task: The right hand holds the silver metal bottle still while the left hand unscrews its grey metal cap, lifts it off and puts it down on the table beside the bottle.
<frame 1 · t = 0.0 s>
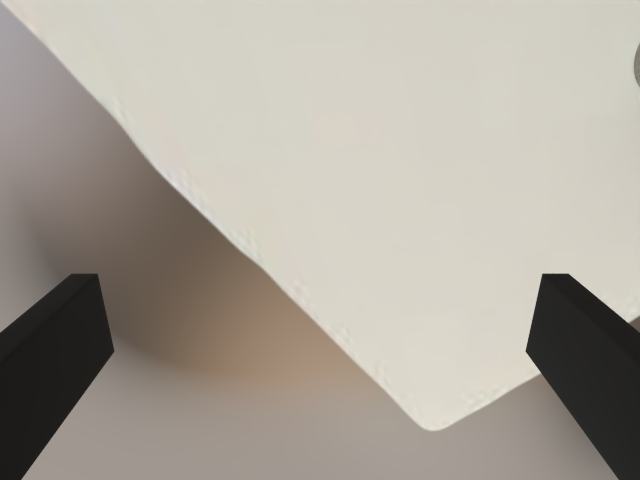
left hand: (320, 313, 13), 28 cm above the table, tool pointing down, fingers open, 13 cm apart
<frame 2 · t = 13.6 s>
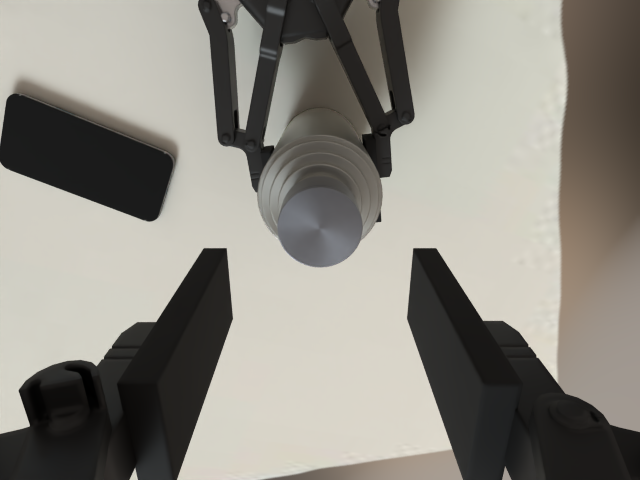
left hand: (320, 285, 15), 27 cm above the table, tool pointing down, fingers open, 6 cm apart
right hand: (327, 221, 35), fingers closed on bottle, 7 cm apart
smartphone: (90, 159, 40), on the table
bottle: (319, 147, 40), on the table, touching right hand
cap: (319, 226, 20), point 21 cm above the table, screwed on, not yet turned
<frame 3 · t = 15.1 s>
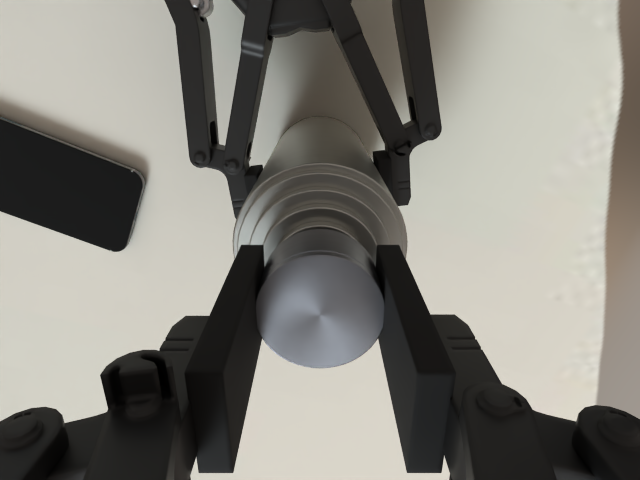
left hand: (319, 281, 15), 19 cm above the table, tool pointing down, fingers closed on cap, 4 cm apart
right hand: (328, 258, 28), fingers closed on bottle, 7 cm apart
smartphone: (43, 178, 33), on the table
bottle: (320, 164, 33), on the table, touching right hand
cap: (320, 309, 13), point 21 cm above the table, screwed on, not yet turned, touching left hand
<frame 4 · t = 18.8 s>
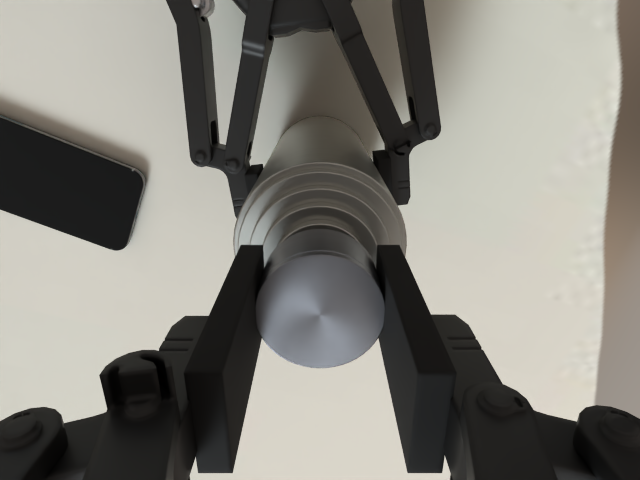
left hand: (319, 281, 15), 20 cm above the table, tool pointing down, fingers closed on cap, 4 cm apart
right hand: (328, 257, 28), fingers closed on bottle, 7 cm apart
smartphone: (44, 177, 33), on the table
bottle: (320, 163, 33), on the table, touching right hand
cap: (320, 309, 13), point 22 cm above the table, turned 132° so far, risen 0.1 cm, still on its thread, touching left hand
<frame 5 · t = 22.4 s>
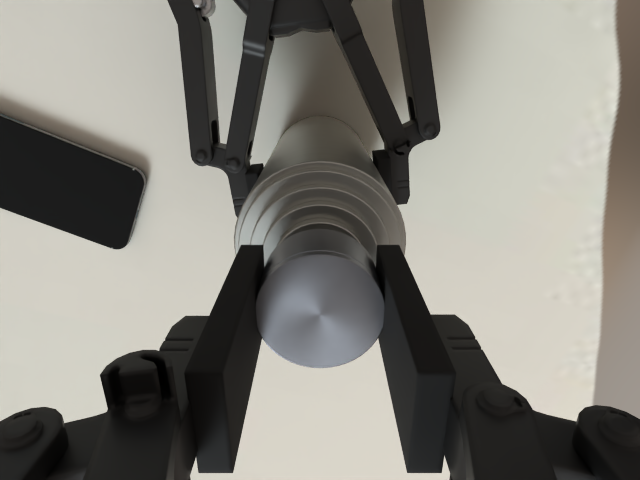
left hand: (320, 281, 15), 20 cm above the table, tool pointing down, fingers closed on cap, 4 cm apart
right hand: (328, 256, 29), fingers closed on bottle, 7 cm apart
smartphone: (45, 176, 34), on the table
bottle: (320, 163, 33), on the table, touching right hand
cap: (320, 309, 13), point 22 cm above the table, turned 264° so far, risen 0.3 cm, still on its thread, touching left hand
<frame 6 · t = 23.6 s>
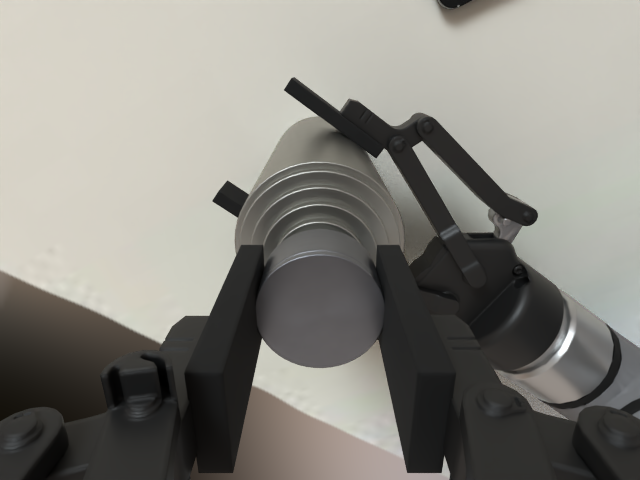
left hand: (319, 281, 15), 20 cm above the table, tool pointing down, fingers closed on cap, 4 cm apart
right hand: (253, 139, 26), fingers closed on bottle, 7 cm apart
bottle: (319, 163, 33), on the table, touching right hand
cap: (320, 309, 13), point 22 cm above the table, off its thread, touching left hand
when the left hand's fingers open (1 cm above the table, at t = 29.9 s): cap drops 1 cm, point 2 cm above the table.
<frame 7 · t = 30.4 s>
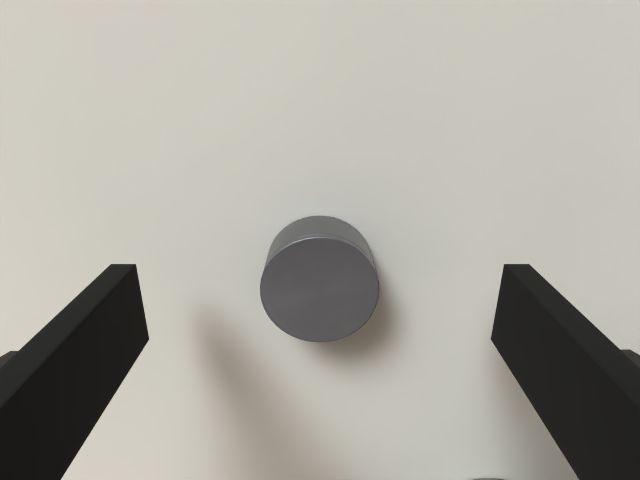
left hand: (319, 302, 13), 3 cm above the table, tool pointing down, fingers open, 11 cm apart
cap: (319, 288, 14), point 2 cm above the table, off its thread
when the right hand's fingers open (7 cm above the table, at t = 31.2 s): bottle stays where it is, on the table.
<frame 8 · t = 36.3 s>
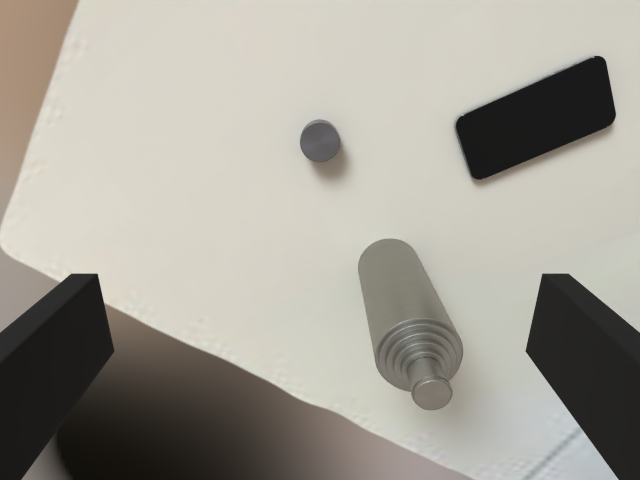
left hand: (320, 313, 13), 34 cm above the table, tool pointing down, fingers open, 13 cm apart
smartphone: (531, 120, 44), on the table
bottle: (388, 266, 50), on the table
cap: (319, 142, 43), point 2 cm above the table, off its thread
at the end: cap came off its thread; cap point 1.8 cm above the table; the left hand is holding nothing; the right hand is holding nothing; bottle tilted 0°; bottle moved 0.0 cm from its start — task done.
